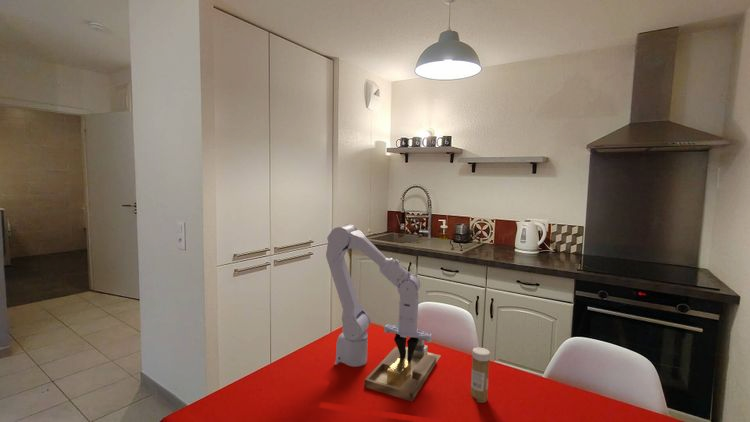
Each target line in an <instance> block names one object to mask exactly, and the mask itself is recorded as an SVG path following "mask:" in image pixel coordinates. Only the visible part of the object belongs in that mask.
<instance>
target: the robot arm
mask: <svg viewBox="0 0 750 422" xmlns="http://www.w3.org/2000/svg"><path fill="white" fill-rule="evenodd" d="M326 247H327V248H326V253H325V257H326V261H327V264H328V267H329V269H330V270H329V271H330V274H331V276H332V278H333V283H334V285H335V289H336V292H337V295H338V298H339V302H340V304H341V308H342V315H341V322H342V329H341V330H342V332H341V333H340V334H339V335H338V338H337V340H336V344H335V345H336V346H335V347H336V348H335V349H336V352H335V362H334V365H339V363H342V364H345V365H346V366H348V367H349V366H350V367H354V368H355V367H362V366H364V365H366V364H367V362H368V342H369V341H368V339H369V338H368V336H369V334H368V332H367V329H369V326H370V325H371V318H370V316H369V315H368V313H367V312H366V310H365V307H364V306H363V305H362V304H361V303H360V302H359V299H358V297H357V292H356V290H355V287H354V284H353V280H352V277H351V275H350V271H349V269H348V264H347V261H346V258H345V255H346V254H347V252H348V250H350V249H351V250H352V249H353V250H359V251H361V252H362V253H363V254H364V255H365V256H367V257H368V258H369V260H371V261H373V263H375V264H376V265H377V266H378V268H379V272H380V273H381V274H382V276H383V277H384V278H386V279H387V280H388V281H389V282H390V283H392V285H394V287H395V288H397V292H398V294H399V302H398V325H396V324H395V325H393V324H387V323H386V325H384V327H383V328H384V329H383V332H384V333H386V334H388V333H389V334H394V335H395V336H394V338H393V340H394V342H395V344H396V347H398V350H399V353H400V358H401V359H404V358H405V354H406V347H408V361H411V360H412V357H413V353H414V350H415V348H416V345H417V343H418V341H419V340H424V342H426V343H428V344H429V343H431V342H432V341H433V340H432V335H433V334H432V333H429V332H426V331H423V330H421V329H418V321H419V319H418V318H419V317H418V316H419V290H420V288H421V281H420V279H419V278H418V276H417V275H416V274H412V272H411V271H407V269H405V268H404V267H403V266H402V265H401V264H400V261H399V260H398V259H397V258H396V259H394V258H392V257H386V256H385V254H384V253H383V252H381V251H380V249H378V248H377V247H376V245H375V244H374V243H373V242H371V240H370V239H368V237H367V236H366V235H365V234H364V232H362V231H361V230H360V229H358V228H357V227H356V226H355V225H353V224H350V223H348V224H344V225H342V226H337V227H334V228H333V229H332V230H331V231H330V233H329V234H328V235H327V246H326ZM407 338H408V340H407ZM406 344H407V345H406Z"/></svg>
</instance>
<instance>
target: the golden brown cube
mask: <svg viewBox="0 0 750 422" xmlns="http://www.w3.org/2000/svg"><path fill="white" fill-rule="evenodd" d="M405 372H406V367H403V366H399V365H395V364H392V365H391V366H390V368H389V369H388V370H387V384H389V385H393V386H396V387H399V388H400V387H401V386H402V384H403V383H404V382H405Z"/></svg>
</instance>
